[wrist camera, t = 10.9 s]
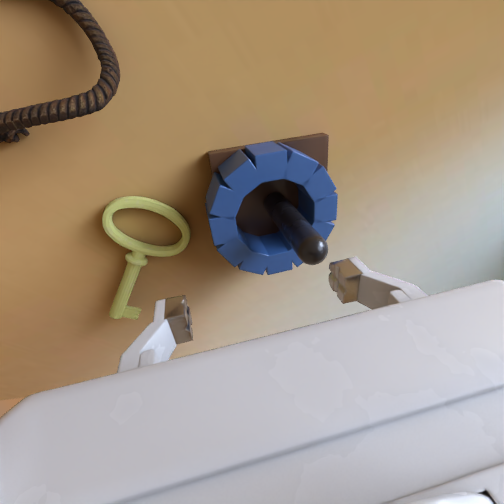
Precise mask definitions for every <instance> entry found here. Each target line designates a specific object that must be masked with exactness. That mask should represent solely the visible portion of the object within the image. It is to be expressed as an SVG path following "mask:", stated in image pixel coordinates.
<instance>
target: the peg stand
mask: <svg viewBox="0 0 504 504" xmlns="http://www.w3.org/2000/svg"><path fill="white" fill-rule="evenodd" d="M273 142H274V143H276V144H277V143H278V142H280V143H282V144H284V145H287V146H289V147H291V148H293V149H296V150H298V151H300V152H302V153H304V154H306V155H307V156H309V157H311V158H313V159H314V160H316V161H318V162H319V164H320V165H322V166H324V168H325V170H326V171H327V164H328V135H327V134H324V133H319V134H313V135H307V136H300V137H294V138H288V139H282V140H276V141H273ZM263 143H265V142H263ZM257 144H259V143H257ZM251 145H253V144H251ZM245 146H247V145H245ZM245 146H239V147H232V148H226V149H220V150H214V151H208V156H209V161H210V167H211V172H212V177H213V174H214V172H216V173H218V174H221V173H220V171H219V169H218V166H220V165H221V164H222V163H223V162H224V161H225V160H227V159H228V158H229V157H230V156H231V155H232V154H234V153H235V152H236V151H237V150H238V149H240V150H241V151H242V152H243V153H244V154H245V155H246V152H245ZM298 206H299V198H298V187H297V186H296V184H295V183H294V182H291V181H289V180H286V179H279V180H274V181H269V182H264V183H261V184H259V185H258V186H257V187H256V188H255V189H253V190H252V191H251V192H250V193H248V194H247V195H246V196H245V197H244V198H243V200H242V202H241V205H240V207H239V210H238V212H237V215H236V217H235V219H236V225H237V226H238V227H239V228H240V229H241V230H242V231H243V232H245V233H249V234H252V235H255V236H264V235H268V234H273V233H277V232H278V231H279V230H280V231H281V232H282V234H283V235H284V237H285V238H286V240H287V241H288V243H289V244H290V246H291V247H292V249H293V250H294V252H295V253H296V254H297V256H298V257H299V259H300V260H301V261H302V262H304V263H306V264H309V265H316V264H319V263H321V262H322V261H323V260H324V259H325V258H326V256H327V253H328V246H327V243H326V241H325V240H324V239H323V237H322V236H321V235H320V234H319V233H318V232H317V231H316V230H315V229H314V228H313V227H312V226H311V224H310V223H309V222H308V221H307V220H306V219H305V218H304V217H303V216H302V215H301V214H300V213H299V212H298V210H297V208H298Z"/></svg>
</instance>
